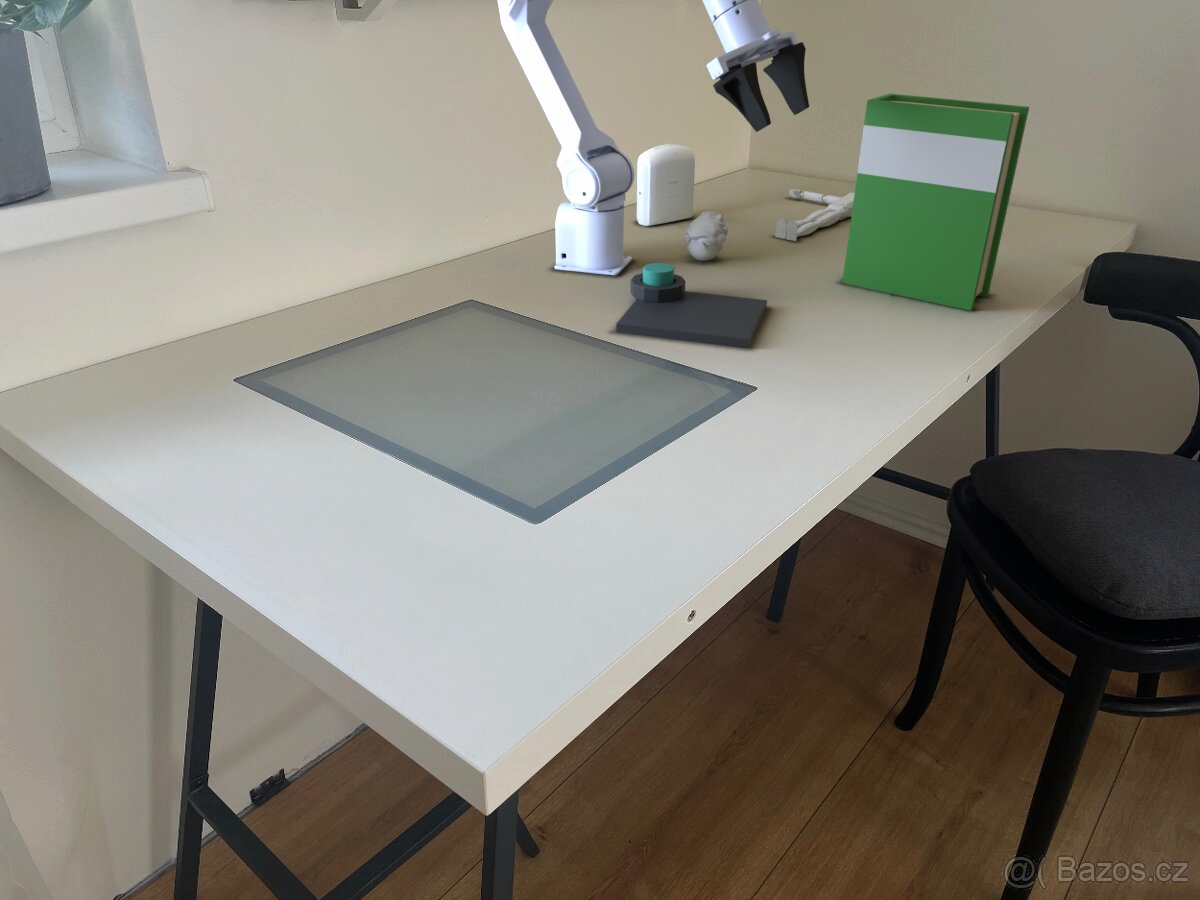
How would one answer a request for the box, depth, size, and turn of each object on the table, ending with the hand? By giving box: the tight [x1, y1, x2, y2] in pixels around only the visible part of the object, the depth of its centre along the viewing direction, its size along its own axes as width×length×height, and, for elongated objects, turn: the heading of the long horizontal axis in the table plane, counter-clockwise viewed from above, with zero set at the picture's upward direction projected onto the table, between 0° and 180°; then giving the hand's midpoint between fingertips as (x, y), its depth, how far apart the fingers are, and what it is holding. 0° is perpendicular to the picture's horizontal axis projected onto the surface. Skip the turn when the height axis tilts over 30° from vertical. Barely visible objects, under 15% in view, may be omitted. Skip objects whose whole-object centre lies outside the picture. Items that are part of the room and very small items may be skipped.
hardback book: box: [842, 93, 1030, 311], centre depth 120 cm, size 18×7×24 cm, turn 53°
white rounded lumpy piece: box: [683, 210, 729, 262], centre depth 136 cm, size 6×7×7 cm
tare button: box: [642, 262, 675, 286], centre depth 119 cm, size 4×4×2 cm
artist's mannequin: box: [775, 189, 855, 242], centre depth 156 cm, size 27×4×30 cm
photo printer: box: [636, 143, 696, 227], centre depth 153 cm, size 10×4×12 cm, turn 123°
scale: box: [615, 272, 768, 349], centre depth 116 cm, size 17×16×3 cm
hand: (783, 119), depth 111 cm, fingers open, 7 cm apart
